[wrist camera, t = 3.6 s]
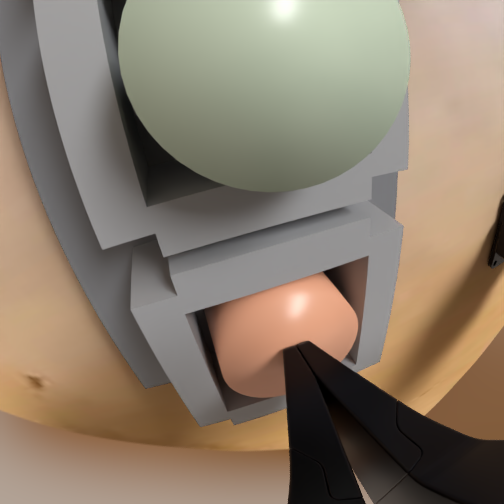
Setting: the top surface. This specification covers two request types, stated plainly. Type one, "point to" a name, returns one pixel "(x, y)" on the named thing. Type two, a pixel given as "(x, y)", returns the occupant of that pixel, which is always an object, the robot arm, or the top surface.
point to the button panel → (182, 212)
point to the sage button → (265, 84)
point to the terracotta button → (278, 331)
